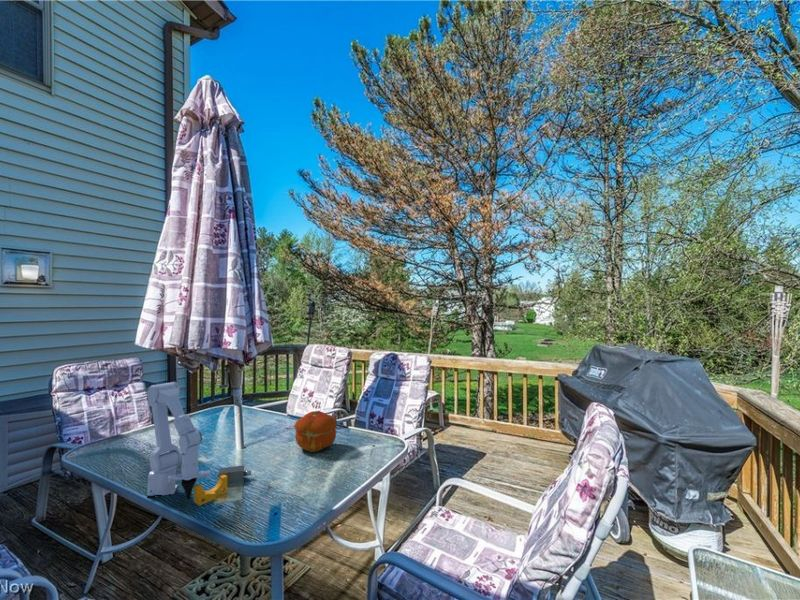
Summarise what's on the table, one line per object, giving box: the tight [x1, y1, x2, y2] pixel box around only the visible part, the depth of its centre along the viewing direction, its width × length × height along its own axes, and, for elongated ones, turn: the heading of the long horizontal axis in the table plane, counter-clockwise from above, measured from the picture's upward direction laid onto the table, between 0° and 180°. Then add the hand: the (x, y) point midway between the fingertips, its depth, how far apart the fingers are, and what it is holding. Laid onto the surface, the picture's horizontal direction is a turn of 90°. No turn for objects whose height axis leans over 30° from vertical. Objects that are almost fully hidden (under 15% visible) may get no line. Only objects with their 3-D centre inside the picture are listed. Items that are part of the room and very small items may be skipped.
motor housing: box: [213, 465, 252, 505], centre depth 160 cm, size 13×22×5 cm, turn 20°
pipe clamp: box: [193, 475, 227, 507], centre depth 152 cm, size 12×4×6 cm, turn 142°
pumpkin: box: [294, 410, 338, 453], centre depth 207 cm, size 23×23×20 cm
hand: (188, 497), depth 149 cm, fingers closed
